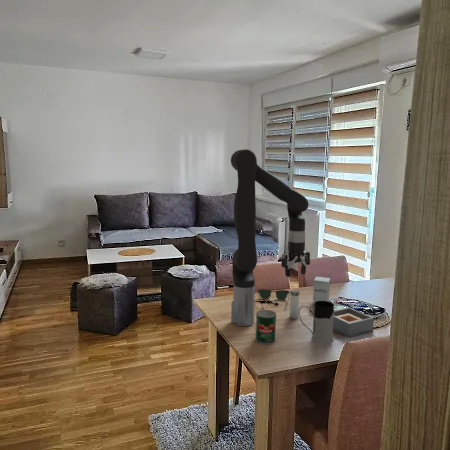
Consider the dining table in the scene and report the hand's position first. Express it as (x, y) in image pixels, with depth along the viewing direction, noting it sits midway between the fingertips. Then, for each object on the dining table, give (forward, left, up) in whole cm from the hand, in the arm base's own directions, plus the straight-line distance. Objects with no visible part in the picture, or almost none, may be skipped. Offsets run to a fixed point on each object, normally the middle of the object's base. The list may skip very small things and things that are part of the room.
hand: (295, 275), depth 183 cm
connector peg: (0, 0, -20) cm, 20 cm away
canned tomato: (-25, -14, -20) cm, 35 cm away
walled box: (+13, -21, -20) cm, 32 cm away
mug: (-7, -23, -20) cm, 31 cm away
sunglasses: (+2, +19, -20) cm, 28 cm away
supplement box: (+24, +9, -20) cm, 33 cm away
